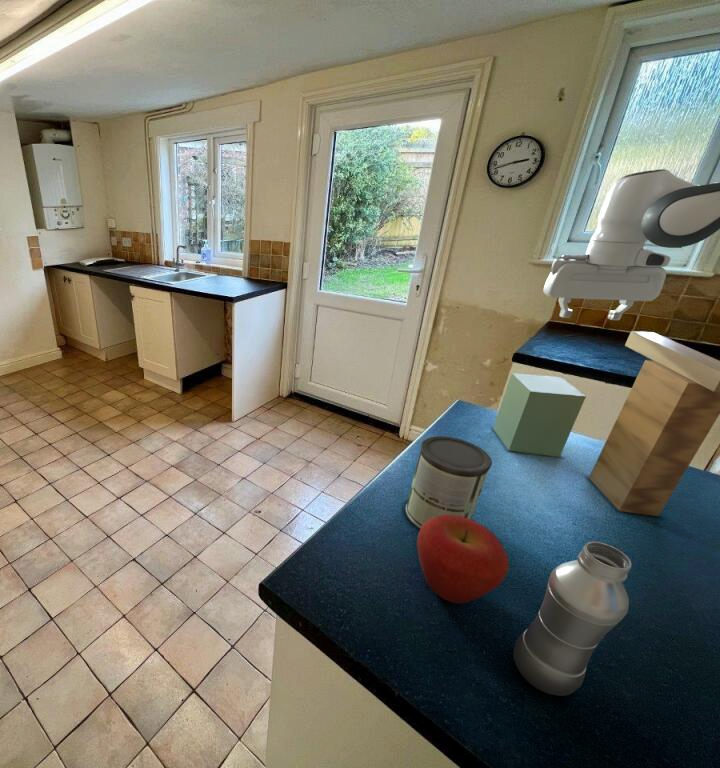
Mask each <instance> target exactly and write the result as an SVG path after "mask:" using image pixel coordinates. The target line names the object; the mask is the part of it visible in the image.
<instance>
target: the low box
mask: <svg viewBox="0 0 720 768" xmlns="http://www.w3.org/2000/svg"><path fill="white" fill-rule="evenodd" d="M503 394H504V395H503V397H502V400H501V403H500V406H499V409H498V412H497V415H496V418H495V421H494V424H493V427H492V429H493V430H494V432H495V434H496V435H497V436H498V438H499V439H500V440H501V442H502V443H503V446H504V447H506V449H507V450H508V451H509V452H515V453H516V452H517V453H523V454H532V455H539V456H541V455H542V456H549V457H556V458H560V457H561V455H562V453H563V450H564V448H565V446H566V444H567V442H568V439H569V437H570V434H571V432H572V430H573V427H574V425H575V423H576V421H577V418H578V416H579V414H580V411H581V409H582V407H583V404H584V402H585V400H586V398H587V396H586V395H585V394H584V393H582V392H581V391H580V390H578V389H577V388H576V387H575V386H573V385H572V384H571V383H569V382H568V381H567V380H566V379H565V378H564V377H562V376H552V375H540V374H529V373H528V374H527V373H516V372H515V373H514V372H512V373H510V377H509V379H508V382H507V386H506V389H505V392H504V393H503Z"/></svg>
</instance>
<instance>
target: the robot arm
mask: <svg viewBox="0 0 720 768" xmlns="http://www.w3.org/2000/svg"><path fill="white" fill-rule="evenodd" d="M719 230H720V181H718V182H714V183H713V182H712V183H708V184H700V185H699V184H696V183H693V182H690V181H687V180H685V179H683V178H681V177H679V176H677V175H675V174H674V173H672V172H671V171H670V170H669V169H665V168H664V169H662V168H661V169H653V170H652V169H651V170H645V171H644V170H643V171H639V172H634V173H631V174H627V175H625V176H623V177H621V178H619V179H617V180H616V181H615V182H614V183H613V184H612V186H611V187H610V190H609V191H608V193H607V194H606V197H605V199H604V202H603V204H602V206H601V209H600V212H599V215H598V217H597V227H596V230H595V232H594V233H593V234H592V236H591V238H590V240H589V243H588V246H587V249H586V251H585V254H563V255H562V256H559V257H557V258H556V259H554V261H553V262H552V265H551V268H550V273H549V275H548V277H547V278H546V280H545V284H544V286H543V289H542V292H543V294H544V295H545V296H547V297H549V298H554V299H555V298H556V299H557V298H558V305H559V306H560V307H559V308H560V312H559V317H561V318H563V319H565V318H568V319H569V318H571V317H572V314H573V312H574V311H573V309H570V308H569V306H568V304H570V303H571V301H572V299H583V300H607V301H608V300H609V301H610V300H611V301H619V304H620V305H618V307H616V308H615V309H614V310H609V313H608V315H607V319H608V320H610V321H621V318H622V316H623V314H625V312H626V311H628V310H629V309H631V307H632V306H634V303H635V302H652V301H654V300H656V299H657V298H658V297H659V296H660V294H661V292H662V290H663V287H664V284H665V281H666V277H667V271H666V269H665V267H668V265H669V264H670V262H671V259H672V258H671V256H670V255H666V254H663V253H660V252H657V251H654V250H652V249H647V248H645V247H646V245H647V242H648V241H649V242H650V243H651V244H653V245H655V246H658V247H662V248H667V249H668V248H669V249H677V248H684V247H689V246H692V245H695V244H698V243H699V242H703V241H704V240H706V239H708V238H709V237H711V236H712V235H714V234H716V233H717V232H718V231H719Z"/></svg>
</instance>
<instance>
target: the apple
mask: <svg viewBox="0 0 720 768" xmlns="http://www.w3.org/2000/svg"><path fill="white" fill-rule="evenodd" d="M417 535H418V536H417V541H416V548H417V554H418V555H417V556H418V561H419V563H420V566H421V570H422V573H423V577H424V579H425V582H426V584H427V586H428V587H429V588H430V589H431V590H432V591H433V593H435V594H436V595H437V596H439V597H440V598H441V599H443V600H444V601H447V602H449V603H452V604H466V603H468V602H471V601H473V600H475V599H479V598H480V597H483V596H486V594H488V593H490V592H492V591H493V590H495V589H496V588H497V587H500V585H501V584H502V582H503V581H504V580H505V579H506V577H507V574H508V572H509V568H510V563H509V557H508V553H507V552H506V551H505V549H504V547H503V545H502V543H501V542H500V540H499V539H498V537H497V536H496V535H494V533H493V532H491V530H489V529H488V528H487V527H486V526H484V525H482V524H481V523H478V522H477V521H476V520H475V521H474V520H473V519H471V520H470V519H467V518H464V517H462V516H456V515H441V516H438V517H434V518H431V519H429V520H428V521H426V522H425V523H424V524H423V525H422V526H421V529H420V528H419V532H418V534H417Z"/></svg>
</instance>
